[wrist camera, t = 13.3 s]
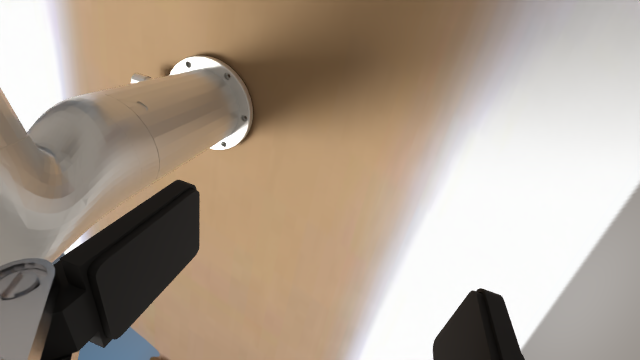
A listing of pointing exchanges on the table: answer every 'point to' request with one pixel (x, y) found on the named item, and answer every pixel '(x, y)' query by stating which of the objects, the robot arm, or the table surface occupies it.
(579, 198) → the table surface
